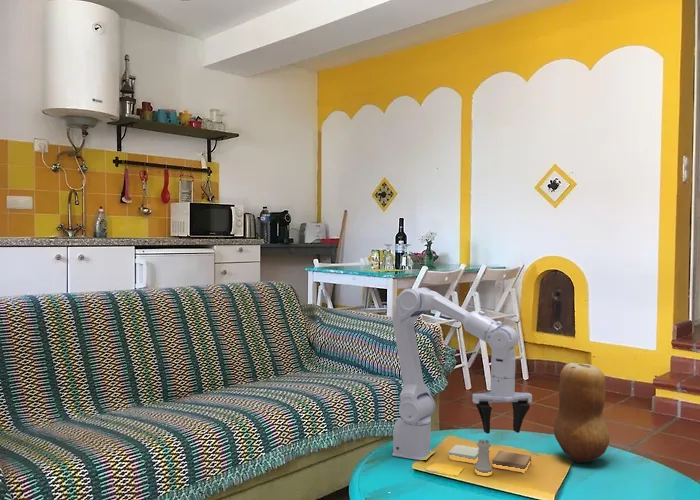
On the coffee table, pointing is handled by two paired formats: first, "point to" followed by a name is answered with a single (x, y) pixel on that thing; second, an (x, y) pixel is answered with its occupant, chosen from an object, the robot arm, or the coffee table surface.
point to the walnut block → (511, 459)
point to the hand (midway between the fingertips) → (501, 431)
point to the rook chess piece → (483, 457)
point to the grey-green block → (464, 451)
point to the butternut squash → (581, 413)
